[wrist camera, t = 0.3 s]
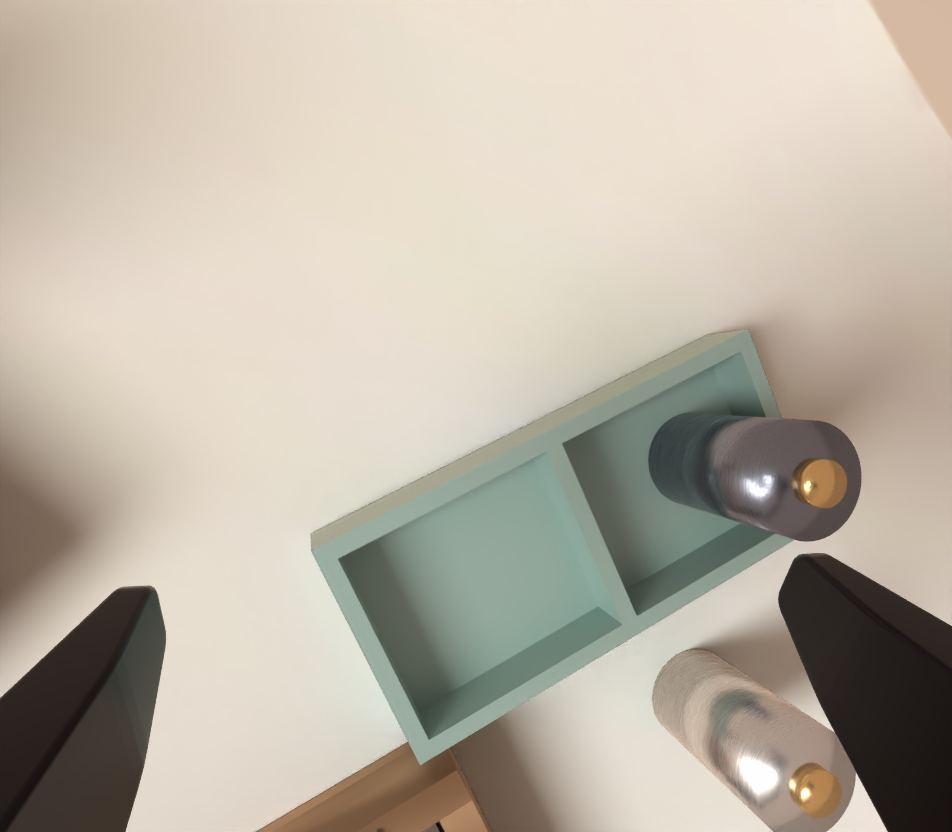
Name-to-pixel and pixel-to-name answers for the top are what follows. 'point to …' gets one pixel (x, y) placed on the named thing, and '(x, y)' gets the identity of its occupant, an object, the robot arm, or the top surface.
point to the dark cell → (759, 471)
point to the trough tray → (540, 548)
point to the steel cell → (755, 743)
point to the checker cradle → (392, 799)
